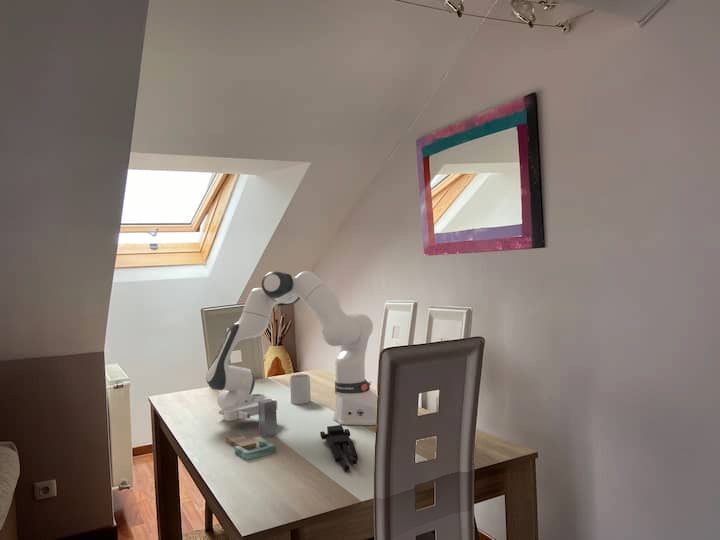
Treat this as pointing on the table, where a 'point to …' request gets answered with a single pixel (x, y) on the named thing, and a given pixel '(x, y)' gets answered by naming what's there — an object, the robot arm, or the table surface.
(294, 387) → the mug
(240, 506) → the table surface
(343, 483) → the table surface
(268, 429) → the block
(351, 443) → the toy
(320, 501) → the table surface
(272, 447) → the tray
